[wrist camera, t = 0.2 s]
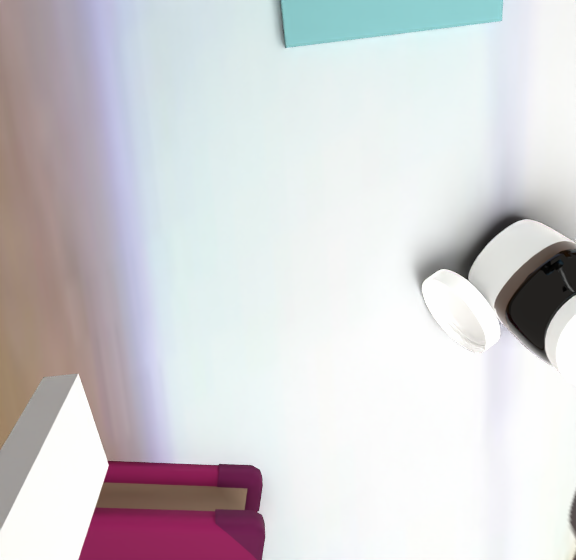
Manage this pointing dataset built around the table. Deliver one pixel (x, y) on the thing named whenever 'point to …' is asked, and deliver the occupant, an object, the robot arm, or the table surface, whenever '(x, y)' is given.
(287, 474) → the table surface
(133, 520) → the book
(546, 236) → the spread jar
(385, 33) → the mat
